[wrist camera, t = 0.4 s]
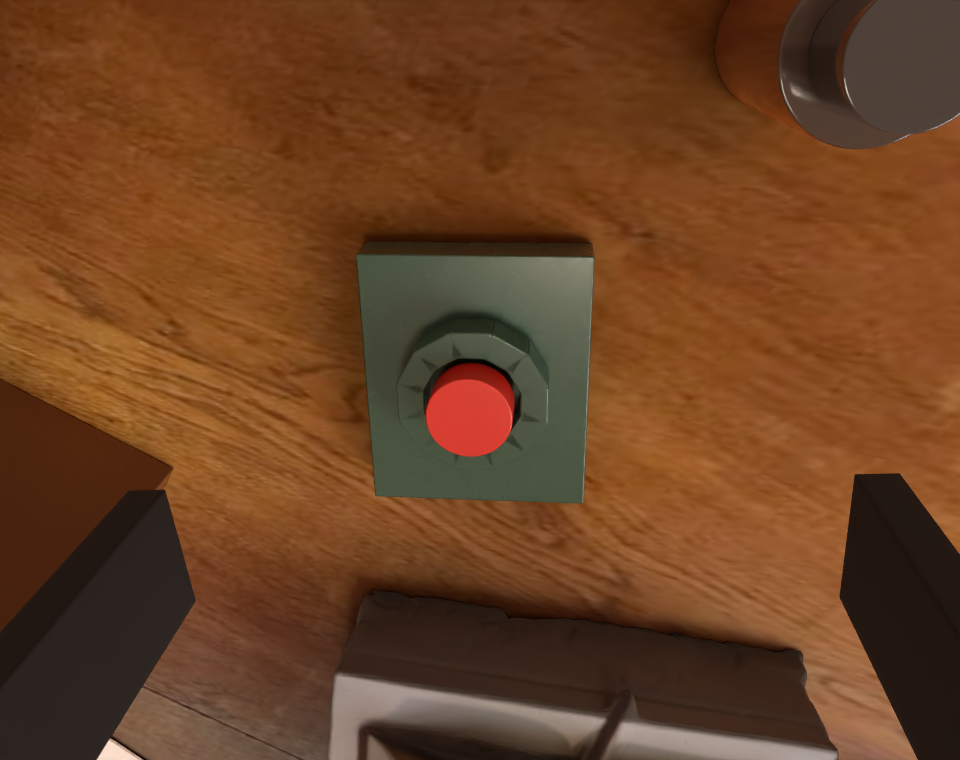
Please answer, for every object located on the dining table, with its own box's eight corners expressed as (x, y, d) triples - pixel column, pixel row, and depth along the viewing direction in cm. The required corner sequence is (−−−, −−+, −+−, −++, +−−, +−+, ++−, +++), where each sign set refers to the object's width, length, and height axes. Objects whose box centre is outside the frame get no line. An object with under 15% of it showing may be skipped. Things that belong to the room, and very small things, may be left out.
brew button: (429, 361, 34) (423, 378, 33) (514, 362, 34) (512, 380, 32) (433, 436, 36) (427, 455, 34) (514, 438, 35) (512, 458, 34)
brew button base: (366, 241, 36) (344, 266, 32) (592, 242, 35) (596, 269, 31) (383, 473, 41) (366, 517, 37) (582, 479, 40) (584, 526, 36)
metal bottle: (722, -33, 30) (826, -63, 19) (865, -36, 30) (1064, -68, 18) (708, 112, 33) (793, 167, 21) (841, 111, 32) (1006, 167, 20)
